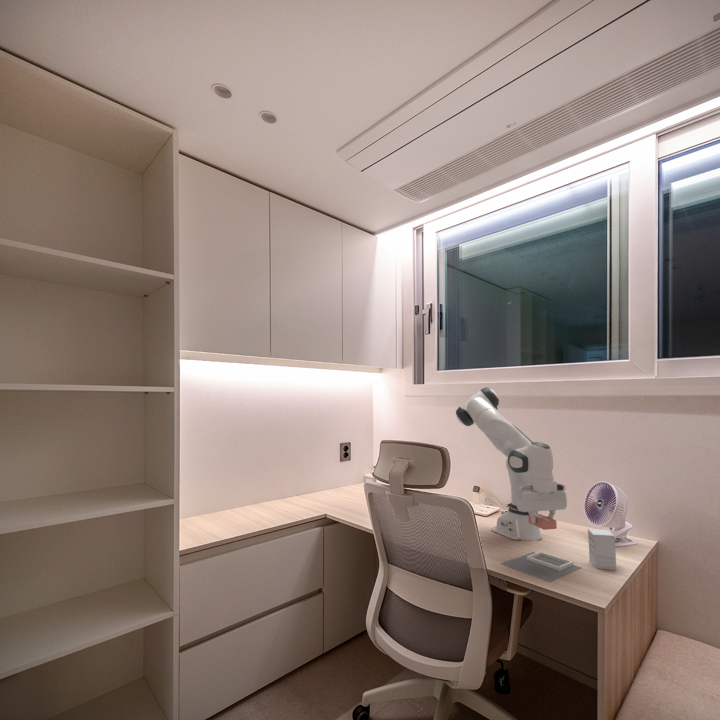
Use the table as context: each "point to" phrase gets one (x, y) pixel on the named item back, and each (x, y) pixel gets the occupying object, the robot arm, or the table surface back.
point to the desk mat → (540, 567)
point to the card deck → (543, 522)
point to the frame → (568, 563)
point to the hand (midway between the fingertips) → (542, 522)
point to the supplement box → (602, 549)
